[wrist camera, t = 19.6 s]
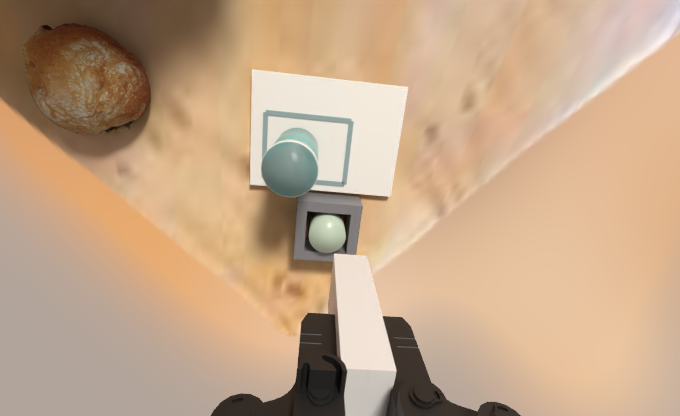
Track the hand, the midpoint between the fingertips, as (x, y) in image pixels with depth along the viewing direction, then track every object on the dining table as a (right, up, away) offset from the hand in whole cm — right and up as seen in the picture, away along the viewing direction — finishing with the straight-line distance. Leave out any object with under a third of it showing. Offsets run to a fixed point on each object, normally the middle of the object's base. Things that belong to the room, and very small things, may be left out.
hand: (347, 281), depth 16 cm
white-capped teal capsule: (-5, +10, +21) cm, 24 cm away
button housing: (-2, +2, +25) cm, 25 cm away
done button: (-2, +2, +25) cm, 25 cm away
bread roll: (-25, +16, +19) cm, 35 cm away
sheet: (-2, +11, +22) cm, 25 cm away
